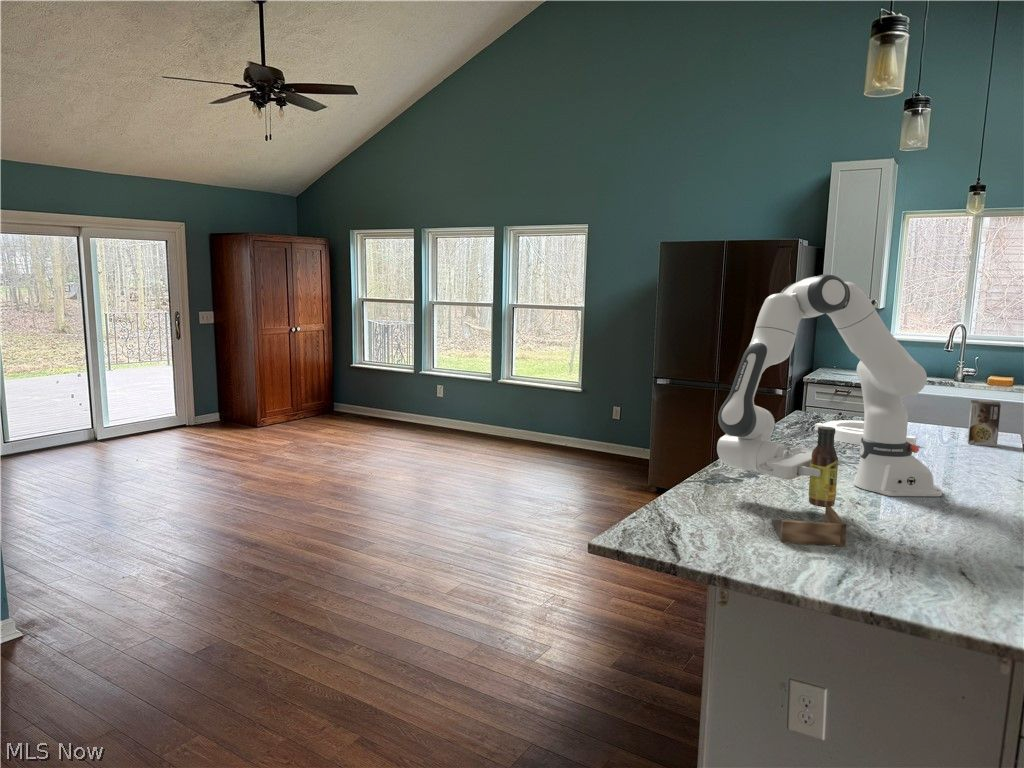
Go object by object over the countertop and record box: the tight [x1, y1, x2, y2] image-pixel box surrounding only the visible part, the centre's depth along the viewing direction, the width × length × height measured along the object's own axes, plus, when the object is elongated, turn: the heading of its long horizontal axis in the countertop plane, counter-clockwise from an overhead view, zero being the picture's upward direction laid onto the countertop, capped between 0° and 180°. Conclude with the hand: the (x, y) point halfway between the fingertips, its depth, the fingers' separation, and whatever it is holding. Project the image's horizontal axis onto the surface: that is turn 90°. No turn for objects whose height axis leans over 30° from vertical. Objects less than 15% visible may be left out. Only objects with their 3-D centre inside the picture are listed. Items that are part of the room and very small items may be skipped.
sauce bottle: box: [808, 427, 839, 508], centre depth 169 cm, size 6×6×20 cm
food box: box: [966, 399, 1002, 448], centre depth 251 cm, size 9×6×16 cm
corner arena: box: [770, 506, 847, 547], centre depth 159 cm, size 14×14×5 cm
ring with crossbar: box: [814, 419, 917, 446], centre depth 261 cm, size 28×28×5 cm
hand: (827, 470), depth 168 cm, fingers closed on sauce bottle, 6 cm apart
